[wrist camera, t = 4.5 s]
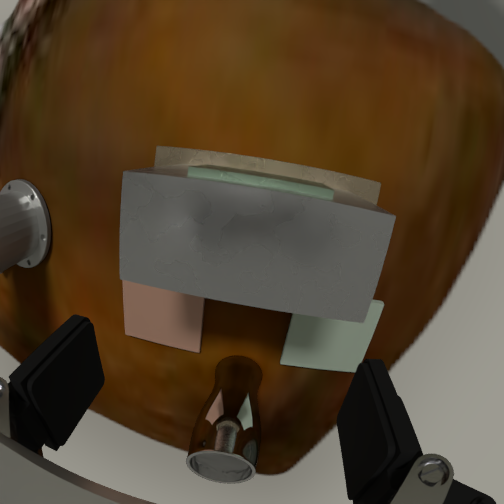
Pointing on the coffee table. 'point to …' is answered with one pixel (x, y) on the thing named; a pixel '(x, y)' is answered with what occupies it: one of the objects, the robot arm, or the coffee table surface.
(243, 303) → the grey unit
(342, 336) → the sage pad
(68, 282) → the coffee table surface
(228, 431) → the chrome vase
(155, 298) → the terracotta pad
